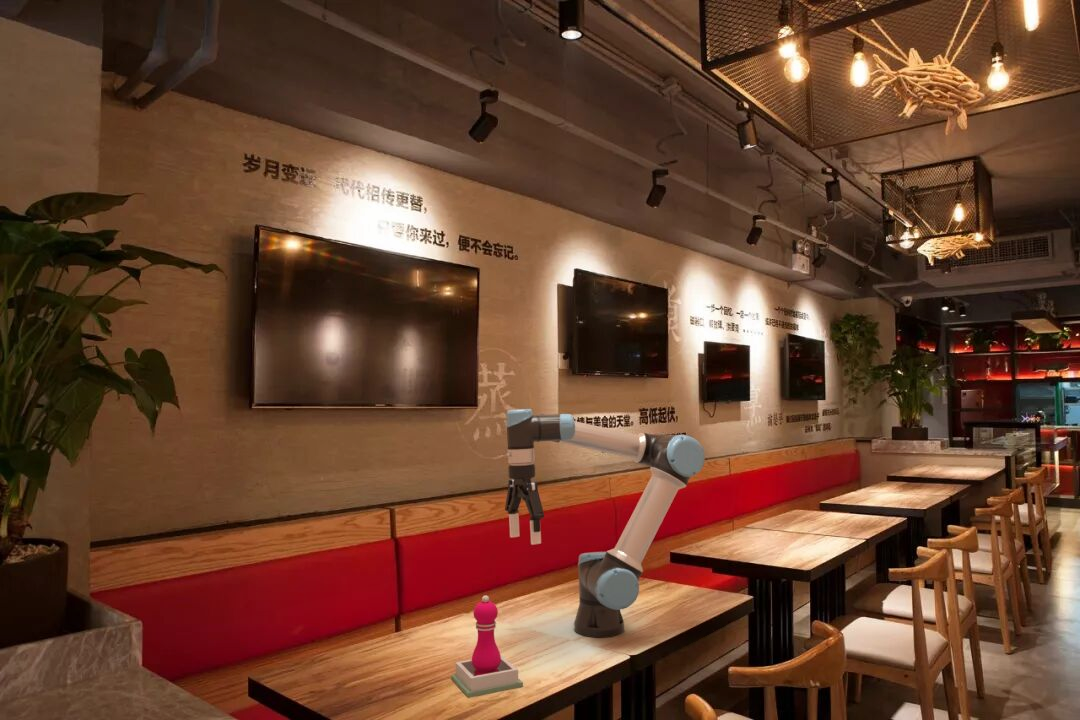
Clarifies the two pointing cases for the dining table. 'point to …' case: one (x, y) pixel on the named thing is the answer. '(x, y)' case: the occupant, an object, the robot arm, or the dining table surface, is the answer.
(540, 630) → the dining table surface
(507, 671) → the deck socket
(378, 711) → the dining table surface
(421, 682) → the dining table surface
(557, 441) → the robot arm
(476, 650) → the pepper mill
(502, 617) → the dining table surface
